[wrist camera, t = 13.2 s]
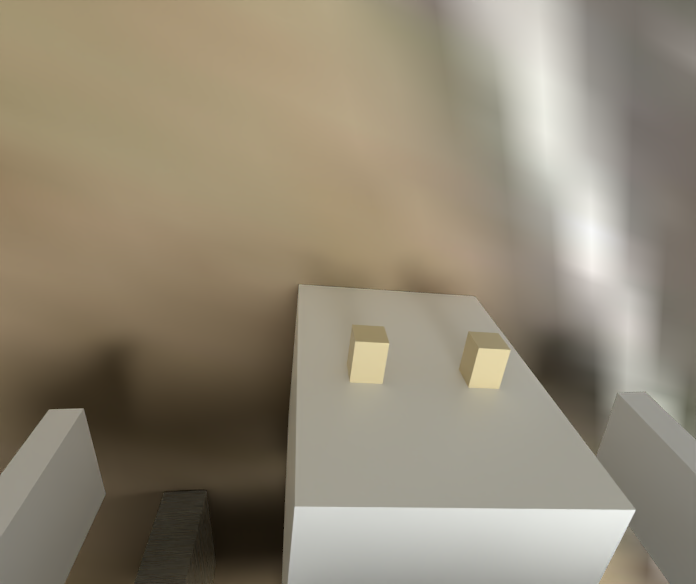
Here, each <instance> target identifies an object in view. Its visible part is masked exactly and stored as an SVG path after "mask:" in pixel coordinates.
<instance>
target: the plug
mask: <svg viewBox="0 0 696 584" xmlns="http://www.w3.org/2000/svg"><path fill="white" fill-rule="evenodd" d="M635 511H636V509H635V508H634V507H633V505H632V504H631V503H630V501H629V500H628V499H627V497H626V496H625V495H624V493H623V492H622V491H621V489H620V488H619V487H618V485H617V484H616V483H615V481H614V480H613V479H612V477H611V476H610V475H609V473H608V472H607V471H606V470H605V468H604V467H603V466H602V464H601V463H600V462H599V460H598V459H597V458H596V456H595V455H594V454H593V452H592V451H591V450H590V448H589V447H588V446H587V444H586V443H585V442H584V440H583V439H582V438H581V436H580V435H579V434H578V432H577V431H576V430H575V428H574V427H573V426H572V424H571V423H570V422H569V420H568V419H567V418H566V416H565V415H564V414H563V412H562V411H561V410H560V408H559V407H558V406H557V404H556V403H555V402H554V400H553V399H552V398H551V397H550V395H549V394H548V393H547V391H546V390H545V389H544V387H543V386H542V385H541V383H540V382H539V381H538V379H537V378H536V377H535V375H534V374H533V373H532V371H531V370H530V369H529V367H528V366H527V365H526V363H525V362H524V361H523V359H522V358H521V357H520V355H519V354H518V353H517V351H516V350H515V349H514V347H513V346H512V345H511V343H510V342H509V341H508V339H507V338H506V337H505V335H504V334H503V333H502V331H501V330H500V329H499V327H498V326H497V325H496V323H495V322H494V321H493V320H492V318H491V317H490V316H489V314H488V313H487V312H486V310H485V309H484V308H483V306H482V305H481V304H480V302H479V301H478V300H477V298H476V297H475V296H464V295H450V294H435V293H420V292H406V291H391V290H376V289H362V288H347V287H332V286H318V285H303V284H299V288H298V301H297V314H296V327H295V340H294V353H293V366H292V379H291V392H290V405H289V418H288V442H287V467H286V492H285V516H284V541H283V566H282V584H599V582H600V580H601V578H602V576H603V574H604V572H605V570H606V568H607V566H608V564H609V562H610V560H611V558H612V556H613V554H614V552H615V550H616V548H617V546H618V544H619V542H620V540H621V538H622V536H623V534H624V532H625V530H626V528H627V527H628V525H629V523H630V521H631V519H632V517H633V515H634V513H635Z"/></svg>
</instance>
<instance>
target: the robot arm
mask: <svg viewBox="0 0 696 584" xmlns="http://www.w3.org/2000/svg"><path fill="white" fill-rule="evenodd" d="M596 458H597V459H598V460H599V462H600V463H601V464H602V466H603V467H604V468H605V470H606V471H607V472H608V473H609V475H610V476H611V477H612V479H613V480H614V481H615V483H616V484H617V485H618V487H619V488H620V489H621V491H622V492H623V493H624V495H625V496H626V497H627V499H628V500H629V501H630V503H631V504H632V505H633V507H634V508H635V509H636V511H635V513H634V515H633V517H632V519H631V521H630V523H629V527H630V528H631V530H632V531H633V532H634V534H635V535H636V537H637V538H638V539H639V541H640V542H641V544H642V545H643V547H644V548H645V549H646V551H647V552H648V554H649V555H650V556H651V558H652V559H653V561H654V562H655V564H656V565H657V566H658V568H659V569H660V571H661V572H662V573H663V575H664V576H665V578H666V579H667V580H668V582H669V583H670V584H696V439H695V438H693V437H692V436H691V435H690V434H689V433H688V432H687V431H686V430H685V429H684V428H683V427H682V426H681V425H680V424H679V423H678V422H677V421H676V420H675V419H674V418H672V417H671V416H670V415H669V414H668V413H667V412H666V411H665V410H664V409H663V408H662V407H661V406H660V405H659V404H658V403H657V402H656V401H655V400H654V399H652V398H651V397H650V396H649V395H648V394H647V393H646V392H625V393H617V396H616V399H615V402H614V405H613V408H612V411H611V414H610V417H609V420H608V423H607V426H606V429H605V432H604V435H603V438H602V441H601V444H600V447H599V450H598V453H597V456H596ZM105 495H106V493H105V489H104V485H103V481H102V477H101V474H100V470H99V466H98V462H97V458H96V454H95V450H94V446H93V442H92V439H91V435H90V431H89V427H88V423H87V419H86V415H85V411H84V408H78V409H49V410H48V412H47V413H46V414H45V416H44V417H43V418H42V420H41V421H40V422H39V424H38V425H37V426H36V428H35V429H34V430H33V432H32V433H31V434H30V436H29V437H28V438H27V440H26V441H25V442H24V444H23V445H22V447H21V448H20V449H19V451H18V452H17V453H16V455H15V456H14V457H13V459H12V460H11V461H10V463H9V464H8V465H7V467H6V468H5V469H4V471H3V472H2V473H1V475H0V584H64V583H65V581H66V579H67V577H68V575H69V573H70V570H71V568H72V566H73V564H74V562H75V560H76V558H77V555H78V553H79V551H80V549H81V547H82V545H83V542H84V540H85V538H86V536H87V534H88V532H89V529H90V527H91V525H92V523H93V521H94V519H95V516H96V514H97V512H98V510H99V508H100V506H101V504H102V501H103V499H104V497H105Z"/></svg>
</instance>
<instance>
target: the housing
mask: <svg viewBox="0 0 696 584" xmlns="http://www.w3.org/2000/svg"><path fill="white" fill-rule="evenodd" d="M215 567H216V558H215V550H214V543H213V535H212V528H211V520H210V513H209V505H208V498H207V490H199V491H177V492H164V494H163V497H162V500H161V503H160V506H159V509H158V512H157V515H156V518H155V521H154V524H153V527H152V530H151V534H150V537H149V540H148V543H147V546H146V549H145V552H144V555H143V558H142V561H141V564H140V567H139V570H138V573H137V576H136V579H135V582H134V584H213V578H214V573H215Z"/></svg>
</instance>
